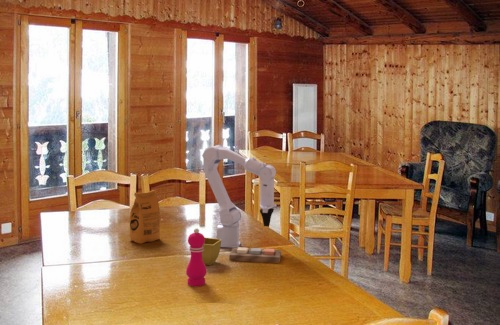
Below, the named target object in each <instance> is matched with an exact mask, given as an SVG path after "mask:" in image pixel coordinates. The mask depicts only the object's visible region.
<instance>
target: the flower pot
mask: <svg viewBox="0 0 500 325" xmlns="http://www.w3.org/2000/svg"><path fill="white" fill-rule="evenodd" d="M220 246H221V239H217V238H212V237H205V243H204V244H203V247H204V248H203V249H204V250H203V251H202V259H203V262H204V264H205V266H206V265H207V266H211V265H213V264H214V263H216V260H217V259H218V257H219V255H220V250H221V247H220Z"/></svg>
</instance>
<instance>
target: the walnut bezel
mask: <svg viewBox="0 0 500 325" xmlns="http://www.w3.org/2000/svg"><path fill="white" fill-rule="evenodd" d="M237 249H238V248H232V249H231V251H230V253H229V255H228V258H229V259H228V260H229V261H237V262H255V263H258V262H259V263H276V264H279V263H280V262H281V258H282V250H280V249H275V255H264V250H265V249H266V248H264V249H263V248H261V255H260V254H250V250H251V248H248V254H241V253H237Z"/></svg>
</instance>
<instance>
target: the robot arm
mask: <svg viewBox="0 0 500 325" xmlns="http://www.w3.org/2000/svg"><path fill="white" fill-rule="evenodd" d="M201 156H202V159H203V162H202V163H203V165H202V169H203V172H204V174H205V177H206V179H207V181H208V185H209V186H210V188H211V190H212V193H213V194H214V197H215V199H216V202H217V204H218V207H219V209H218V214H219V221H220V223H221V224H218V225H217V227H216V228H217V229H216V239H221V246H220V248H230V249H231V248H232V249H233V248H238V247H241V241H240V223H239V222H240V221H241V219H242V213H241V211H240V210H239V209H238V208H237V206H236V204H235V203H233V202H232V201H231V198H230V196H229V195H228V194H229V193H228V191H227V190H226V187H225V185H224V183H223V180H222V178H221V176H220V173H219V171H218V167H219V163H221V161H222V160H226V159H227V160H229V161H231V162H234V163H237V164H239V165H241V166H242V167H243V168H244V170H245V171H247V172H249V173H251V174H254V176H255V175H256V176H258V177H259V179H260V185H259V186H260V192H259V193H260V196H259V197H260V198H259V199H260V200H259V207H260V209H259V214H260V215H261V219H262V223H263V227H269V226H270V225H271V219H272V216H273V213H274V212H275V211H274V210H275V209H274V208H276V207H277V204H276V203H275V200H274V199H275V176H276V174H277V169H276V168H275V167H274V165H272V164H267V163H266V162H261V161H259V160H257V158H256V157H248V158H246V157H244V156H243V155H241V154H239V153H237V152H235V151H233V150H232V149H229V148H228V147H226V146H223V145H221V144H216V145H214V146H207V147H206V148H205V149H204V150H203V153H202V155H201Z"/></svg>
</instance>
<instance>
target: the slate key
mask: <svg viewBox="0 0 500 325" xmlns="http://www.w3.org/2000/svg"><path fill="white" fill-rule="evenodd" d="M250 249H251V250H250V254H260V255H261V249H262V248H261V247H251V248H250Z"/></svg>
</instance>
